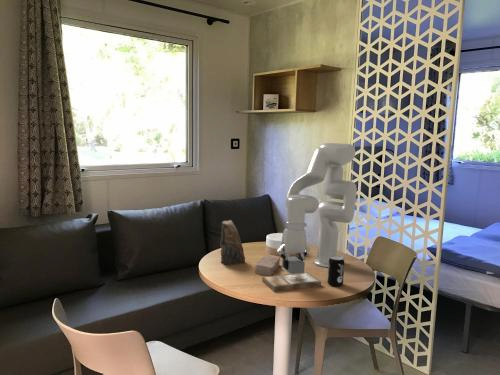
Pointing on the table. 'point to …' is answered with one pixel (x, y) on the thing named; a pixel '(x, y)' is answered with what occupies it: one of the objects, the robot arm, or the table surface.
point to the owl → (231, 245)
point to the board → (291, 282)
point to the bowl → (274, 243)
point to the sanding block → (294, 266)
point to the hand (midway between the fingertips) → (292, 267)
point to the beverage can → (336, 271)
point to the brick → (267, 265)
